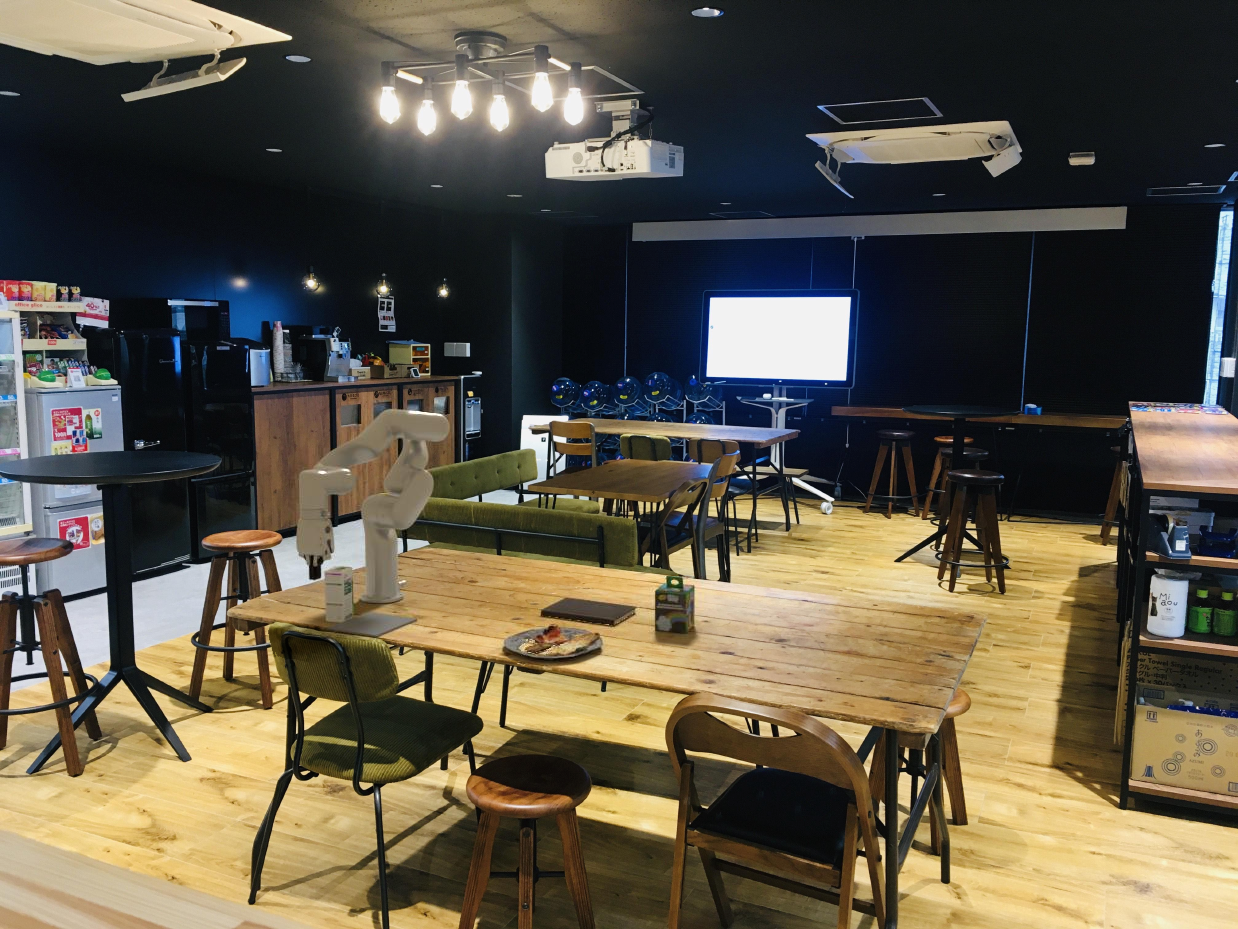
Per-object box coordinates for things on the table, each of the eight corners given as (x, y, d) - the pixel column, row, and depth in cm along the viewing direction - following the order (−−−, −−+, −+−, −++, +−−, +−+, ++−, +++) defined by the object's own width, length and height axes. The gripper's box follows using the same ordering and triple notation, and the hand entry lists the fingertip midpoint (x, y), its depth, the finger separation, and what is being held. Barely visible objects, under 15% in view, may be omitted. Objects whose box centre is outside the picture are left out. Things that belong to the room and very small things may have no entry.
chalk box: (694, 625, 270) (696, 573, 268) (686, 634, 261) (687, 580, 260) (662, 622, 273) (664, 570, 271) (653, 630, 264) (654, 577, 263)
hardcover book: (566, 604, 292) (566, 597, 292) (636, 614, 282) (636, 606, 282) (540, 617, 277) (540, 610, 277) (613, 628, 268) (613, 620, 268)
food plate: (554, 628, 264) (554, 616, 264) (620, 647, 250) (620, 633, 249) (486, 652, 245) (486, 638, 245) (554, 673, 231) (553, 659, 230)
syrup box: (344, 623, 266) (343, 571, 265) (324, 621, 268) (323, 570, 266) (354, 617, 272) (353, 566, 270) (334, 616, 273) (334, 565, 271)
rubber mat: (370, 613, 276) (370, 611, 276) (417, 620, 270) (417, 618, 270) (327, 629, 260) (327, 627, 260) (376, 637, 254) (376, 635, 254)
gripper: (344, 514, 270) (345, 579, 272) (302, 510, 276) (303, 573, 278) (325, 518, 263) (327, 584, 265) (283, 514, 269) (284, 578, 272)
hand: (315, 578), depth 272 cm, fingers closed
